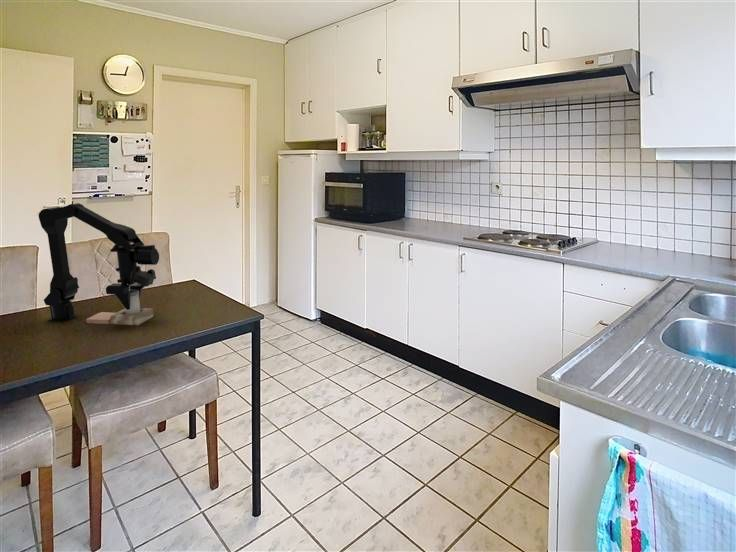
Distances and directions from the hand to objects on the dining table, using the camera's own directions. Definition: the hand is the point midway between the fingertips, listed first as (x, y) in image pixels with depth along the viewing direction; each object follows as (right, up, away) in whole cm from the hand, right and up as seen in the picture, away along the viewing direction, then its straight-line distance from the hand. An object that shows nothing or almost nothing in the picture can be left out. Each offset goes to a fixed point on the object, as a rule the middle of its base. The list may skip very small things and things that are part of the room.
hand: (132, 307), depth 171 cm
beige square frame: (0, -5, +1) cm, 5 cm away
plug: (0, -4, +1) cm, 4 cm away
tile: (-10, -5, +1) cm, 11 cm away
